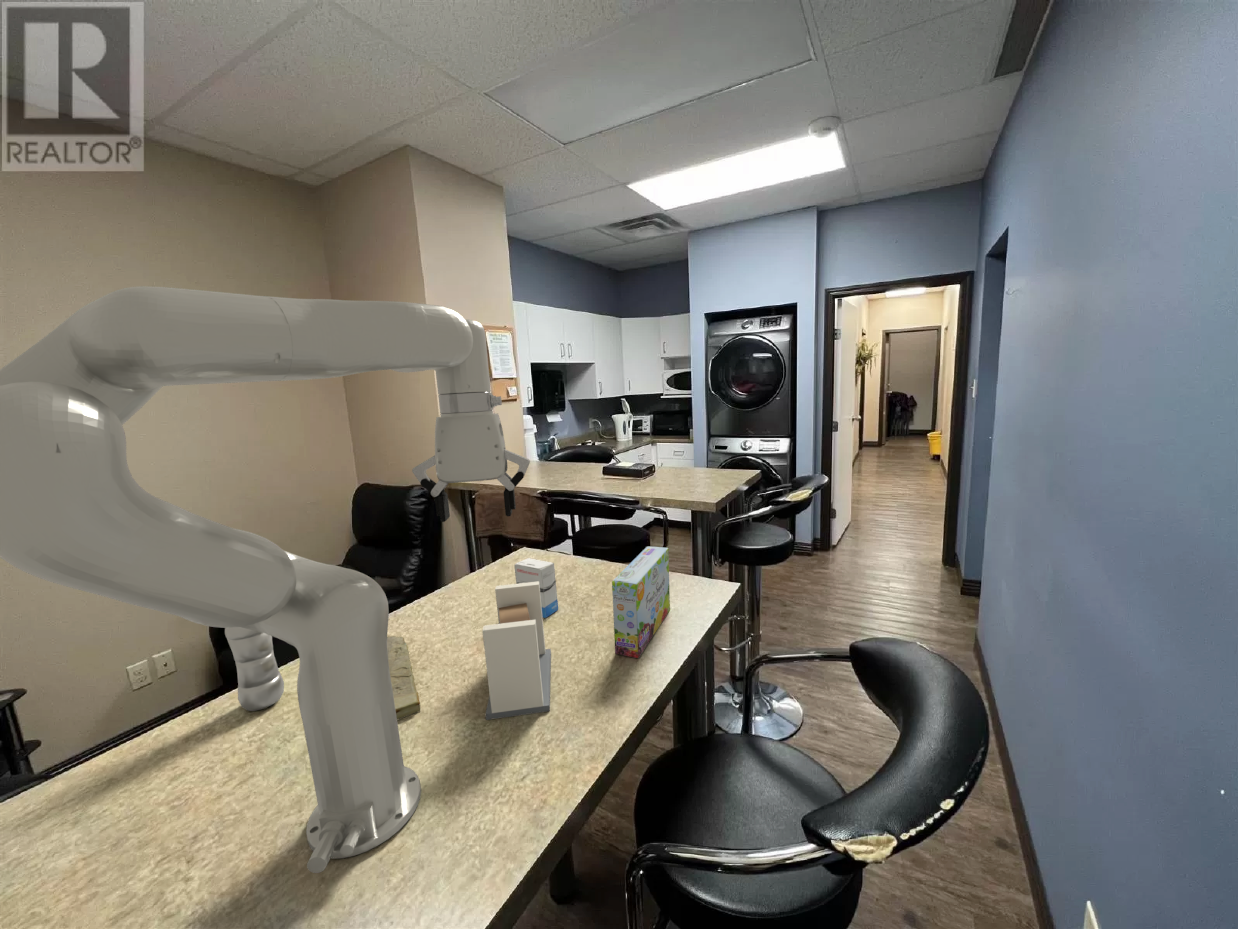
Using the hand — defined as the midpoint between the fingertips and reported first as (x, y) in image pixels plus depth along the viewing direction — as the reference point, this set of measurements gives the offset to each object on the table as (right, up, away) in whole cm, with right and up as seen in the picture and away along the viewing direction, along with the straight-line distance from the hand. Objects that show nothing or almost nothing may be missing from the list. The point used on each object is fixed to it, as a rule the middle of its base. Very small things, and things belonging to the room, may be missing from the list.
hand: (477, 517), depth 74 cm
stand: (+5, -30, +10) cm, 32 cm away
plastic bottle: (-40, -34, +9) cm, 53 cm away
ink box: (+3, -26, +38) cm, 46 cm away
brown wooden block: (+4, -23, +9) cm, 25 cm away
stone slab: (-23, -32, +15) cm, 42 cm away
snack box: (+28, -27, +26) cm, 46 cm away
